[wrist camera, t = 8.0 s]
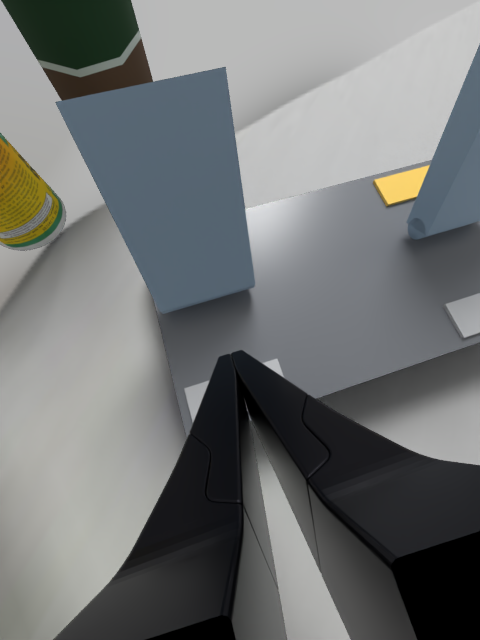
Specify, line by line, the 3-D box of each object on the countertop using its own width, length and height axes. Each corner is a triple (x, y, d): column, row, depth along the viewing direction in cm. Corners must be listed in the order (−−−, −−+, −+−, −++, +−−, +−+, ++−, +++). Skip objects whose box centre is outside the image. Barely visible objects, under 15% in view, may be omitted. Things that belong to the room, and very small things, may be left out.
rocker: (256, 293, 13) (225, 66, 8) (164, 320, 13) (55, 101, 7) (248, 278, 15) (215, 71, 9) (163, 302, 14) (68, 102, 8)
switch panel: (498, 330, 17) (556, 316, 14) (197, 432, 15) (186, 443, 12) (412, 190, 20) (444, 154, 17) (154, 261, 18) (137, 235, 15)
